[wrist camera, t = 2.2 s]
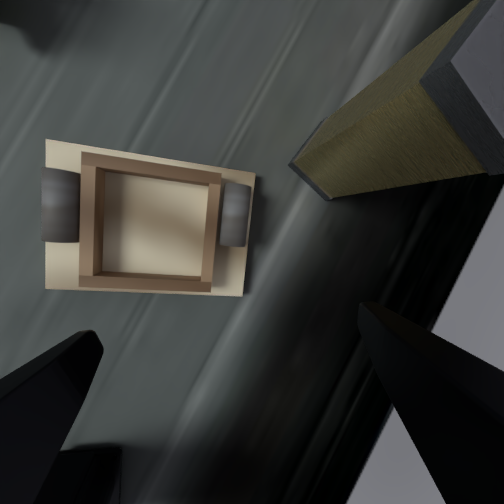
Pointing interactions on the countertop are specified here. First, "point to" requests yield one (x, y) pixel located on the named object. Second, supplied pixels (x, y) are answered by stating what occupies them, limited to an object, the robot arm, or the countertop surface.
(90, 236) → the wooden fixture board
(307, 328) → the countertop surface
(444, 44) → the tall brass pillar
